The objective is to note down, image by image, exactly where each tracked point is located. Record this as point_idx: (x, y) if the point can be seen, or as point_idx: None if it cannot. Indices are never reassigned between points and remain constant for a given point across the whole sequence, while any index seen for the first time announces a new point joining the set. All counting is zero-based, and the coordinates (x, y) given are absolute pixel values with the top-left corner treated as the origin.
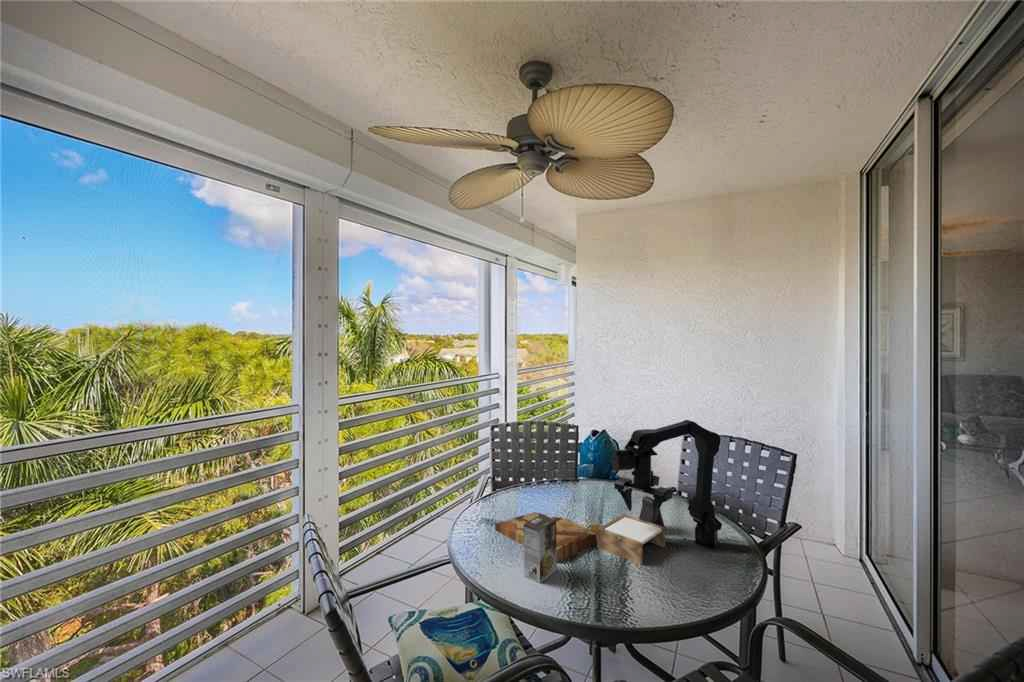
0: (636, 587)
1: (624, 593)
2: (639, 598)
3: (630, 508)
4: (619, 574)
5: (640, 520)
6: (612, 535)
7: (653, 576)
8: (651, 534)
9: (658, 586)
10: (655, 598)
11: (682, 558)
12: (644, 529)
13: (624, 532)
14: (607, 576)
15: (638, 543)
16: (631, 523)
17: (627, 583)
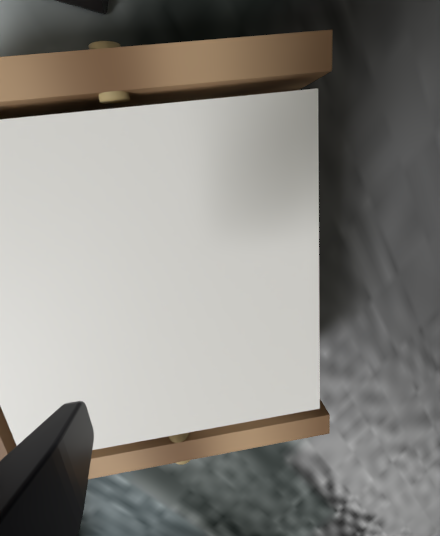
0: (354, 473)
1: (342, 517)
2: (387, 501)
3: (80, 448)
4: (269, 465)
5: (59, 77)
6: (126, 465)
7: (368, 384)
8: (311, 270)
9: (408, 418)
10: (424, 469)
11: (409, 144)
12: (222, 237)
13: (155, 396)
14: (247, 502)
15: (313, 433)
16: (63, 223)
17: (321, 479)
